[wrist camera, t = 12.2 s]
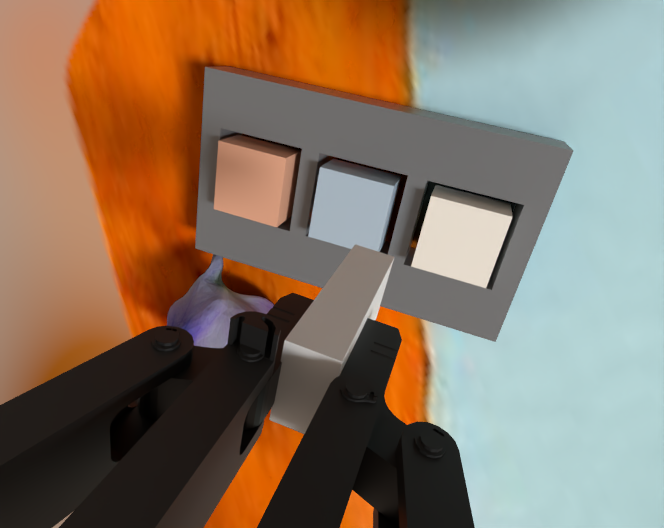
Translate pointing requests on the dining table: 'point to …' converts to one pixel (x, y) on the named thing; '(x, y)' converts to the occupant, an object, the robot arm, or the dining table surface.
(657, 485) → the dining table surface
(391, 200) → the blue key
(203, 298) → the flower
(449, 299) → the console
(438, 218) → the ivory key
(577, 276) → the dining table surface
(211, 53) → the dining table surface
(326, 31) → the dining table surface
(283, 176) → the terracotta key
